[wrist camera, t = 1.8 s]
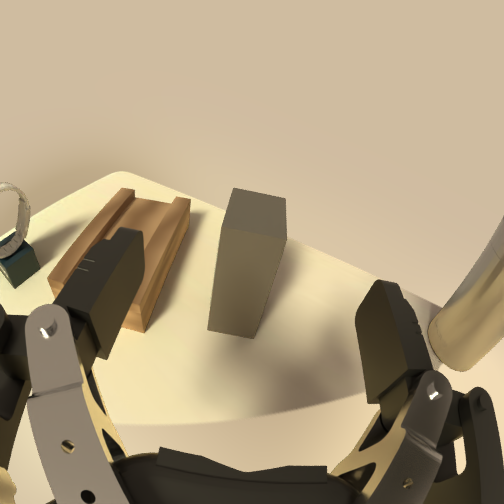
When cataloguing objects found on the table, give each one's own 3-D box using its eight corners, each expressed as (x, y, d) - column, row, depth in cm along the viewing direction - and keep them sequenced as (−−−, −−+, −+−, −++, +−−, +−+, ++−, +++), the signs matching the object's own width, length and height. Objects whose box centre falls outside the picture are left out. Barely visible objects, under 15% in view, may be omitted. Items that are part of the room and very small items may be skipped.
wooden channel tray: (188, 225, 39) (190, 199, 37) (144, 333, 25) (139, 304, 23) (123, 213, 39) (121, 187, 36) (58, 306, 25) (47, 278, 22)
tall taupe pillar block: (257, 294, 32) (285, 198, 25) (253, 338, 27) (286, 239, 20) (216, 286, 32) (232, 187, 24) (206, 329, 27) (220, 226, 20)
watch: (-13, 276, 24) (-42, 200, 17) (31, 243, 30) (13, 168, 23) (3, 298, 23) (-32, 216, 16) (50, 261, 29) (30, 179, 22)
